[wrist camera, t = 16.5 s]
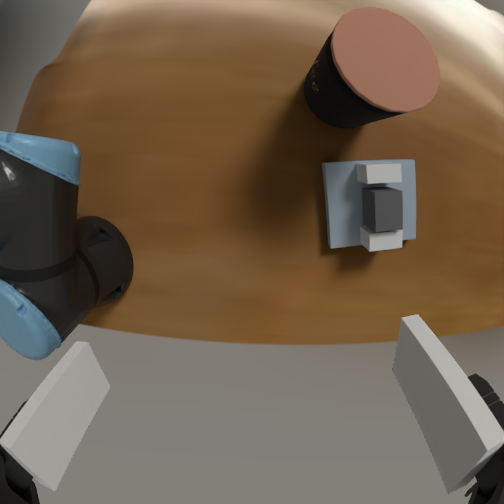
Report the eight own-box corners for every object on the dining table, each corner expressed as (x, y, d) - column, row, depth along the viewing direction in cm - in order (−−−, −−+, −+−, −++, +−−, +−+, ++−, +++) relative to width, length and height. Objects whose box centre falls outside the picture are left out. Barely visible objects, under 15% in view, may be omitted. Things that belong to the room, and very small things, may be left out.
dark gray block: (363, 223, 38) (375, 232, 34) (361, 187, 37) (374, 192, 32) (387, 220, 38) (402, 229, 33) (386, 186, 36) (402, 191, 32)
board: (327, 244, 42) (337, 258, 36) (321, 162, 38) (331, 163, 32) (409, 235, 41) (428, 246, 35) (408, 159, 37) (428, 161, 31)
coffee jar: (332, 48, 32) (373, -11, 15) (386, 96, 34) (456, 68, 17) (287, 94, 35) (305, 49, 18) (345, 144, 37) (403, 137, 20)
